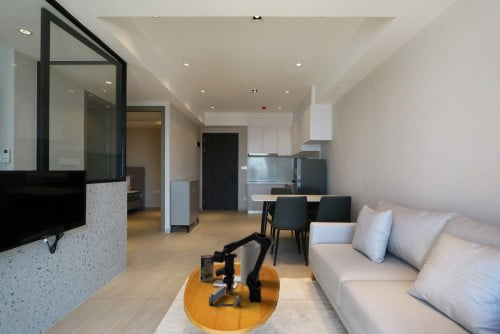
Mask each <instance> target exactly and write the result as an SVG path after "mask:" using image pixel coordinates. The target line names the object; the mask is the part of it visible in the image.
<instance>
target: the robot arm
mask: <svg viewBox="0 0 500 334" xmlns="http://www.w3.org/2000/svg"><path fill="white" fill-rule="evenodd" d="M252 241H255V243H257V244H260V250H259V256H258V259H257V261H256V264H255V266H254V269H253V271H251V272H250V273H249V274H248V276H247V279H246V280H247V281H246V285H245V286H247V287H248V290H249V291H248V298H249V299H248V300H249V303H262V287H263V283H262V281H261V280H260V277H261V276H260V273H261V270H262V267H263V265H264V264H265V263H264V262H265V260H266V257H267V255H268V252H269V251H270V249H271V248H272V246H273V244H274V243H275V238H274V236H273V235H270V234H269V235H268V234H265V233H260V232H257V231H254V232H252V233H251V234H248V235H247V236H244V237H242V238H240V239H238V240H234V241H231V242H228V243H226V244H225V245H223V249H222V251H219V250H214V251H213V254H212V255H213V258H212V260H213V262H214V263H217V264H218V263H219V264H223V263H224V266H223V267H219V268H216V270H215V271H214V272H215V273H214V274H215V275H214V276H216V277H217V278H218V277H222V276H224V277H223V279H222V284H223V285H226V284H227V286H228V290H230V289H231V286H232V284H233V285H234V283H235V282H234V281H235V274H236V268H235V259H236V258H237V257H238V254H237V253H236V252H235V251H236V250H237V249H239V248H241V246H242V245H244V244H247V243H252Z"/></svg>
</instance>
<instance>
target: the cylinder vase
mask: <svg viewBox="0 0 500 334" xmlns="http://www.w3.org/2000/svg"><path fill="white" fill-rule="evenodd" d="M259 254H260V245H259V243H257V242H249V243H247V244H244V245H242V246H240V284H242V285H244V286H247V285H246V281H247V280H246V279H247V276H248V274H249V273H250V272H251V271H253V269H254V266H255V264H256V261H257V259H258V256H259Z"/></svg>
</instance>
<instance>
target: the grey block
mask: <svg viewBox="0 0 500 334" xmlns="http://www.w3.org/2000/svg"><path fill="white" fill-rule="evenodd" d="M212 294H213V303H215V302H217V301H218V300H219V299H221V298H222V297H223V296H224V295H226V285H221V287H220V288H218V289H217V290H216V291H214V292H213V293H212Z"/></svg>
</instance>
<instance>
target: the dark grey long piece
mask: <svg viewBox="0 0 500 334" xmlns="http://www.w3.org/2000/svg"><path fill="white" fill-rule="evenodd" d="M241 296H242V295H241V294H236V297H235V298H236V299H233V300H232V303H214V302H213V293H212V294H210V293H209V295H208V306H209V307H232V308H233V309H234V308H235V309H236V308H238V307H241V304H242V303H241V302H242V301H241V298H242V297H241Z"/></svg>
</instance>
